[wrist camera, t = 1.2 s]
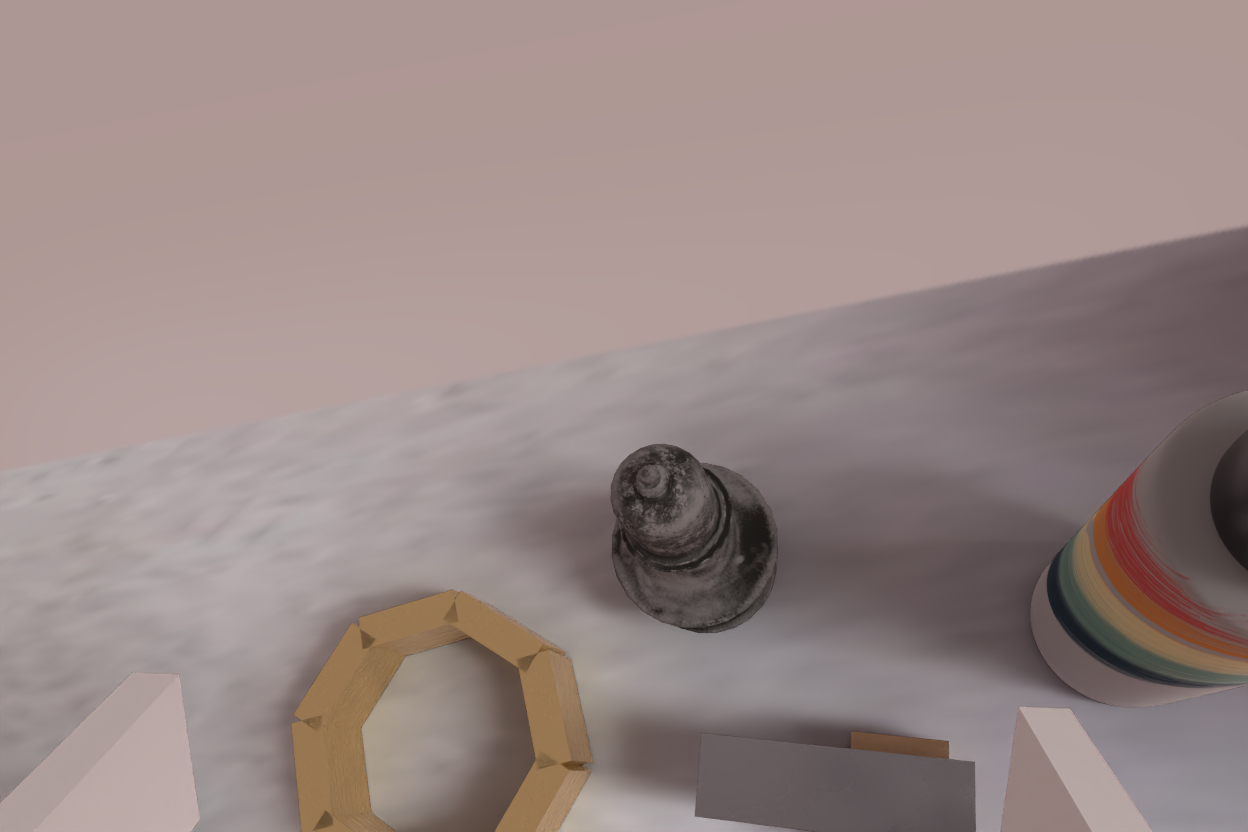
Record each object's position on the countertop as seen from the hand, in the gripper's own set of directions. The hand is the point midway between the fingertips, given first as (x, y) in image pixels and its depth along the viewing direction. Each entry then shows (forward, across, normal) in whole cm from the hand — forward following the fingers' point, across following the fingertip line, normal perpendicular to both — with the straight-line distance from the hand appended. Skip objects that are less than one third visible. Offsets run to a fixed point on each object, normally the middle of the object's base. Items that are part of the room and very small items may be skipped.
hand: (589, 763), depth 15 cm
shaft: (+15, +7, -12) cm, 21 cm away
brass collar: (+18, -7, -13) cm, 23 cm away
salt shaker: (+21, +3, -6) cm, 22 cm away
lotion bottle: (+18, +17, -7) cm, 25 cm away
